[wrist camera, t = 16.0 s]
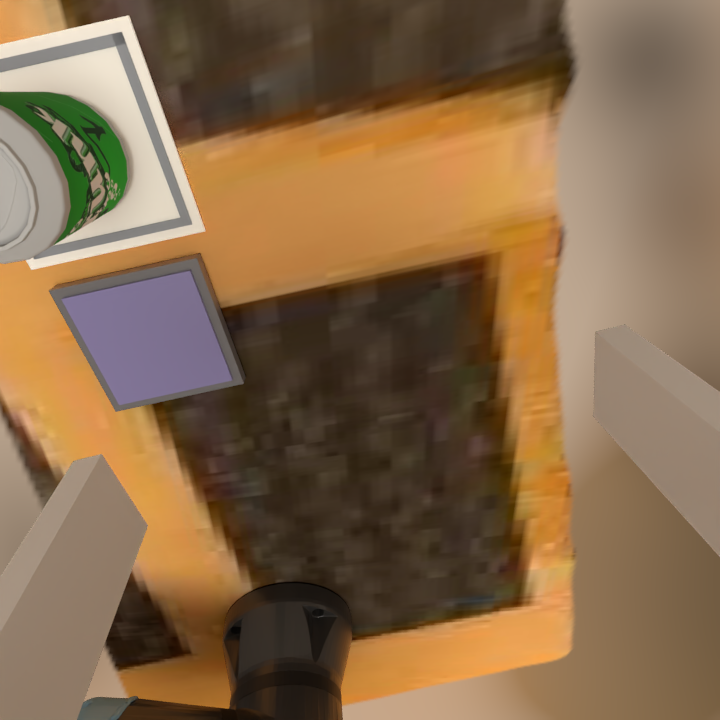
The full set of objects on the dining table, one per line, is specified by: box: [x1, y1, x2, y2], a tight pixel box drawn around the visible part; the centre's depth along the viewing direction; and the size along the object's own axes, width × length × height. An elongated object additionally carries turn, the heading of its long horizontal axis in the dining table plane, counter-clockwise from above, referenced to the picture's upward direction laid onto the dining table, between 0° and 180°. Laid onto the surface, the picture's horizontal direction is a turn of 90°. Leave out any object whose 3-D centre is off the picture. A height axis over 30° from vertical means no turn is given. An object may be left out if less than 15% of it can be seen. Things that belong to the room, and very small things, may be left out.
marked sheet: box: [0, 15, 206, 270], centre depth 32 cm, size 13×13×1 cm
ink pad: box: [49, 253, 245, 412], centre depth 38 cm, size 11×11×2 cm
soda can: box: [0, 92, 130, 264], centre depth 26 cm, size 8×8×12 cm
